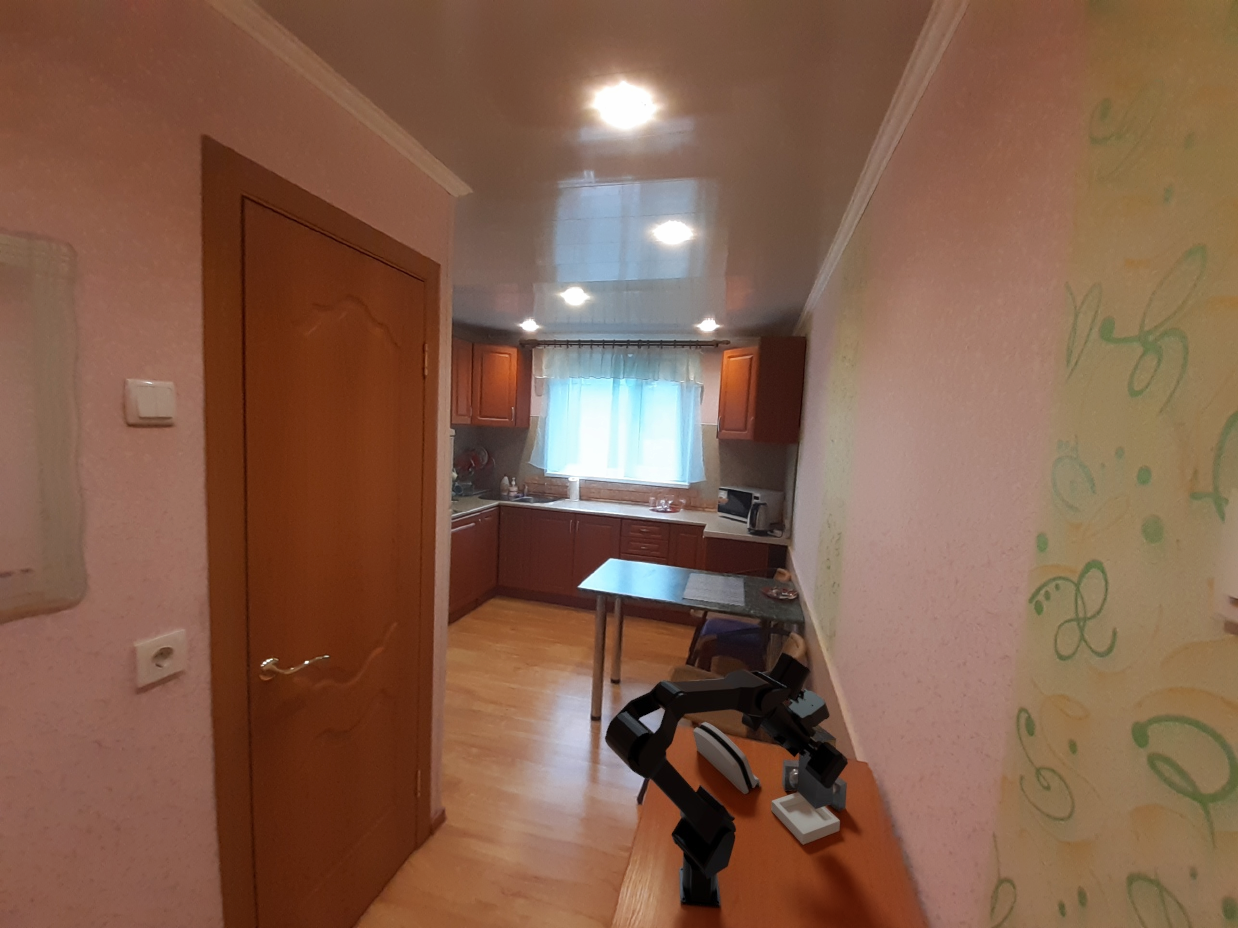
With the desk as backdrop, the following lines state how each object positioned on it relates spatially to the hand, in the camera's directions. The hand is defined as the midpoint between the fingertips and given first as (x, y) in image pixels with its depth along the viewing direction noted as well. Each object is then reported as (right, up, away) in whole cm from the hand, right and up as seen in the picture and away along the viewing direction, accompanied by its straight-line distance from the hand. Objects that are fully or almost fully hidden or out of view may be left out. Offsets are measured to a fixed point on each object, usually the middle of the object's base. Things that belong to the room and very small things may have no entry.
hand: (821, 762), depth 98 cm
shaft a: (+5, -13, +7) cm, 16 cm away
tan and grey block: (-1, -7, 0) cm, 7 cm away
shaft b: (-1, -13, +11) cm, 17 cm away
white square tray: (-2, -13, +3) cm, 14 cm away
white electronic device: (-15, -12, +18) cm, 26 cm away
